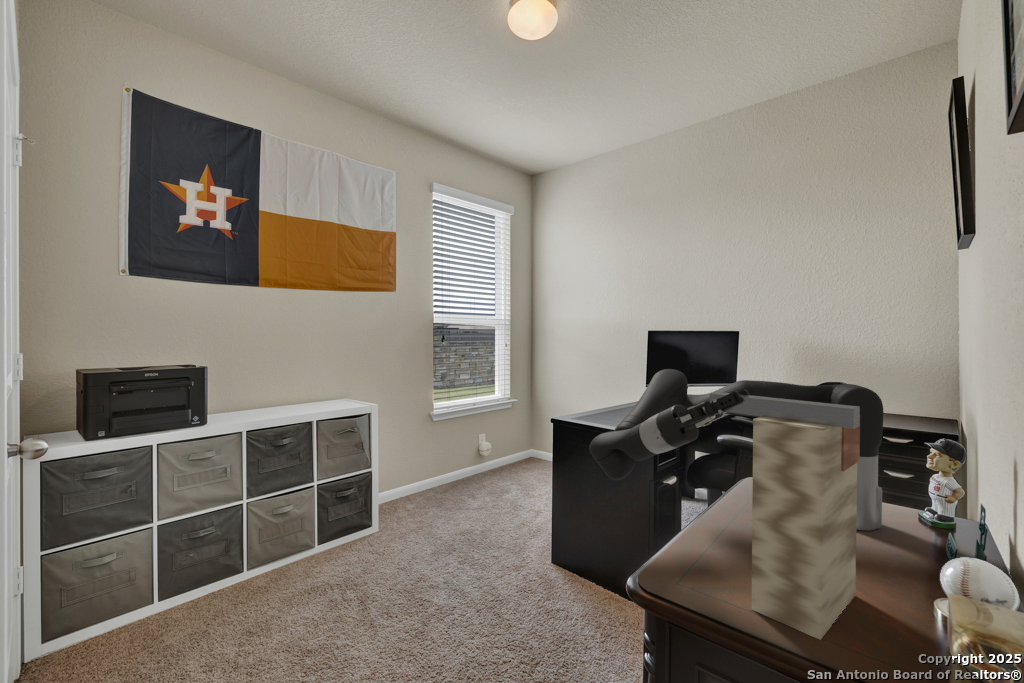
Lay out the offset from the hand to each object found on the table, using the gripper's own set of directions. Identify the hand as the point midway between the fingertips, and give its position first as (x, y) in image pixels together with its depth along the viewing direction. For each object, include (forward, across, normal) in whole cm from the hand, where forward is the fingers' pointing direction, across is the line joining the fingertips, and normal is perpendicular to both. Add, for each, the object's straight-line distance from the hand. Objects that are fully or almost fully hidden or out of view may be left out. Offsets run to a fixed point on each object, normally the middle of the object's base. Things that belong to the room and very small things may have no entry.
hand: (743, 395), depth 82 cm
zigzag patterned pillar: (-10, -4, -35) cm, 36 cm away
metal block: (+3, 0, -5) cm, 6 cm away
